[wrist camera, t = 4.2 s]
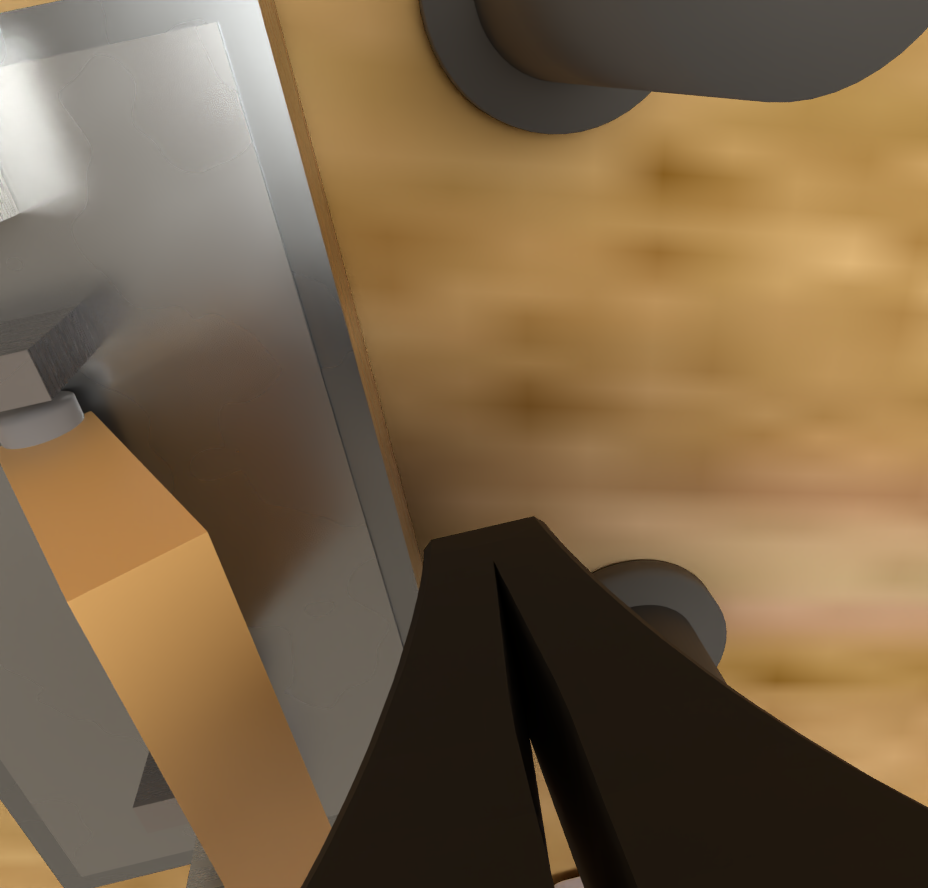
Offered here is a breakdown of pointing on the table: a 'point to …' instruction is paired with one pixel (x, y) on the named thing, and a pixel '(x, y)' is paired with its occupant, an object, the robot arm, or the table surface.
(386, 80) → the table surface
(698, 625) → the post
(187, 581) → the tan flat block
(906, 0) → the cord post
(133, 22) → the panel
